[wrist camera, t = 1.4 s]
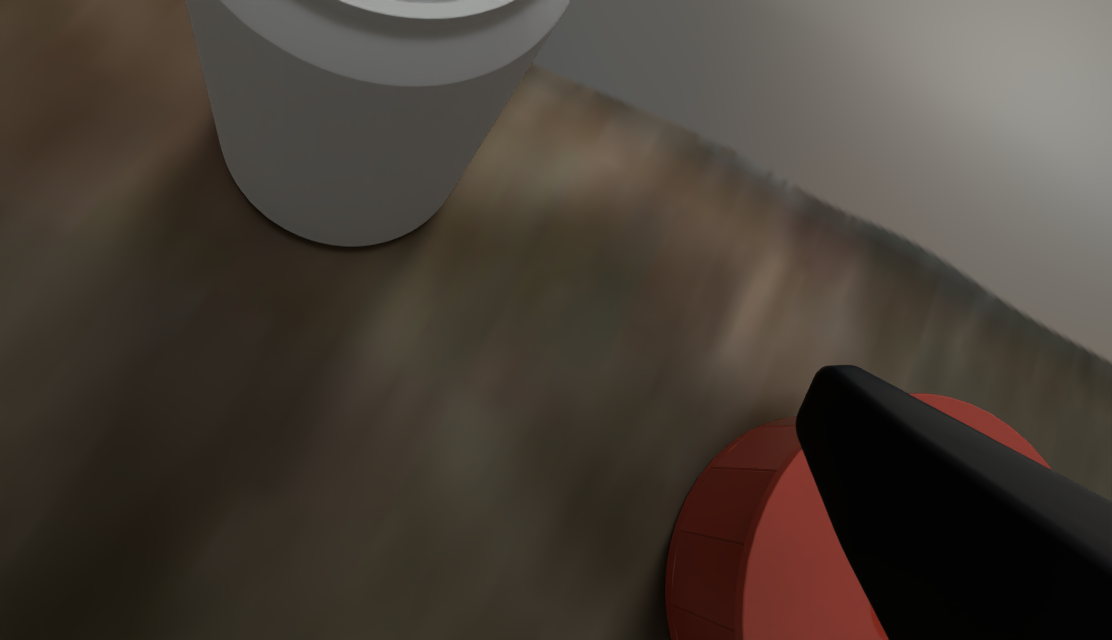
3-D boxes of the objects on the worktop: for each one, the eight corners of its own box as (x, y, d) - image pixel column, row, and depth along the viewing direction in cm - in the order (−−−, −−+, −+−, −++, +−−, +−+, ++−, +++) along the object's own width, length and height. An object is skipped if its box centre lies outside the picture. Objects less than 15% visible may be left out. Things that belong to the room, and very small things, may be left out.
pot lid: (1067, 848, 21) (1151, 891, 19) (696, 839, 18) (747, 889, 16) (1072, 431, 23) (1147, 430, 21) (744, 360, 20) (795, 349, 18)
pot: (943, 774, 25) (1077, 841, 20) (643, 757, 22) (726, 831, 18) (957, 443, 27) (1081, 442, 23) (686, 388, 24) (769, 376, 20)
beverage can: (324, -10, 22) (353, -478, 11) (501, 136, 23) (693, -155, 12) (166, 149, 20) (7, -221, 9) (367, 301, 21) (448, 137, 10)
